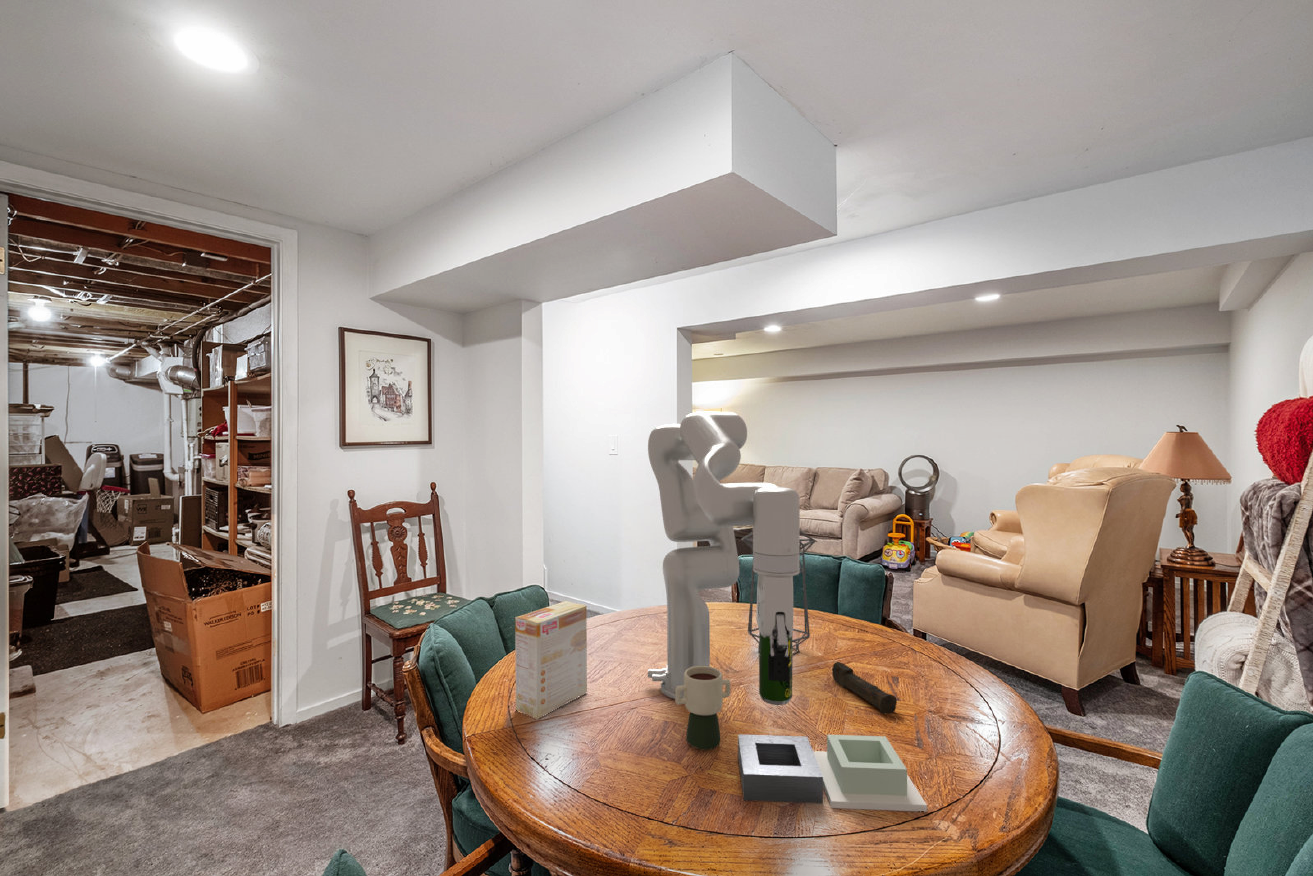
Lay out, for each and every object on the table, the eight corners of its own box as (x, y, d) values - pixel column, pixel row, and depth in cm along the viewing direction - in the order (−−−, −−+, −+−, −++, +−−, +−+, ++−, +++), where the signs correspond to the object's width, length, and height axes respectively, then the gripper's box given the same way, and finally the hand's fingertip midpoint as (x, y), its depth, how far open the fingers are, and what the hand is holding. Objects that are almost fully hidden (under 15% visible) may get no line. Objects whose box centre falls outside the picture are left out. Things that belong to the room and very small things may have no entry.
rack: (831, 808, 85) (831, 774, 85) (812, 756, 99) (812, 728, 99) (927, 812, 84) (926, 778, 84) (894, 759, 98) (893, 730, 98)
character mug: (722, 730, 108) (722, 662, 108) (739, 749, 101) (738, 676, 102) (668, 739, 105) (668, 669, 105) (682, 759, 98) (682, 684, 98)
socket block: (743, 800, 87) (743, 774, 87) (738, 757, 99) (737, 734, 99) (823, 803, 86) (822, 777, 86) (807, 759, 98) (807, 736, 98)
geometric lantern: (737, 650, 150) (737, 519, 152) (772, 638, 161) (772, 515, 162) (787, 667, 139) (786, 524, 140) (821, 652, 149) (820, 520, 151)
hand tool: (898, 714, 115) (898, 691, 115) (881, 716, 114) (881, 693, 114) (843, 677, 133) (843, 658, 133) (828, 679, 132) (828, 659, 132)
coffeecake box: (565, 686, 129) (565, 600, 129) (588, 693, 124) (588, 605, 125) (513, 711, 116) (513, 616, 117) (537, 720, 112) (537, 622, 112)
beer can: (756, 703, 91) (757, 629, 91) (761, 689, 96) (761, 619, 96) (790, 708, 90) (791, 633, 90) (793, 693, 95) (793, 622, 95)
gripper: (748, 551, 102) (747, 651, 102) (758, 574, 85) (758, 695, 85) (790, 552, 101) (789, 653, 101) (809, 575, 84) (809, 697, 84)
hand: (775, 671), depth 93 cm, fingers closed on beer can, 5 cm apart
